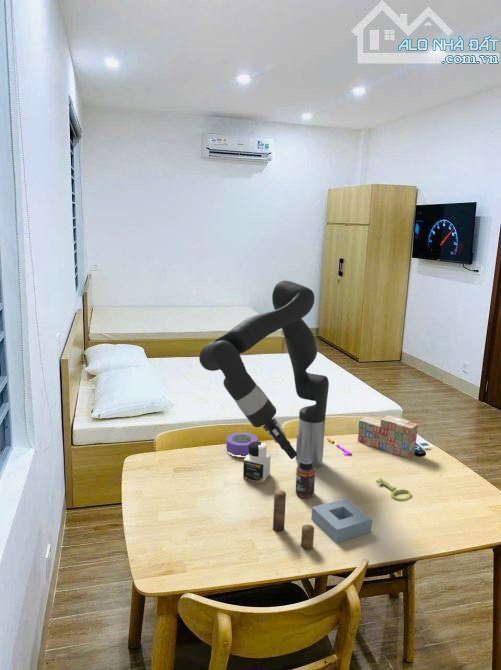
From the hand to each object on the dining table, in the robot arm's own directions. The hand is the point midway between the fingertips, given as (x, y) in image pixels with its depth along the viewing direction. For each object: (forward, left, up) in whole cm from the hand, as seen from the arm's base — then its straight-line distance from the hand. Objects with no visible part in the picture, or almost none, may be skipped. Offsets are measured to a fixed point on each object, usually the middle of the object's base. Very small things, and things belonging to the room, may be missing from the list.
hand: (290, 450), depth 132 cm
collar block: (+4, +16, -24) cm, 29 cm away
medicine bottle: (-31, +7, -25) cm, 41 cm away
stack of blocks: (-32, +64, -25) cm, 76 cm away
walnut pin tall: (-2, -1, -24) cm, 25 cm away
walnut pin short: (+8, +2, -24) cm, 26 cm away
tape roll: (-51, +11, -25) cm, 58 cm away
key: (-5, +43, -25) cm, 50 cm away
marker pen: (-39, +46, -25) cm, 66 cm away
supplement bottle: (-15, +16, -25) cm, 33 cm away
